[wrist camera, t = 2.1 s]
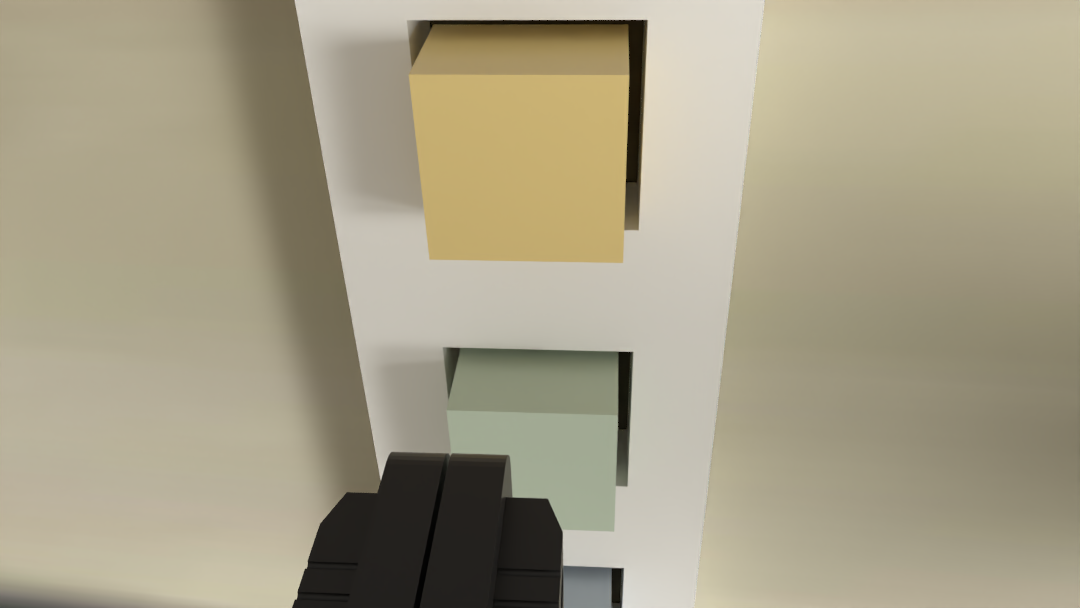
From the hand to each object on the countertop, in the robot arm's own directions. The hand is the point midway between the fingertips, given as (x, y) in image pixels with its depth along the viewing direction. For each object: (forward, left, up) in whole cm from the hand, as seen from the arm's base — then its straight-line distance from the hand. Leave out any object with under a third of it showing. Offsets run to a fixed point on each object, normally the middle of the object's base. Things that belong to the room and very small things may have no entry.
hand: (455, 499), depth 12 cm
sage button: (0, +9, -12) cm, 15 cm away
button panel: (0, +11, -14) cm, 18 cm away
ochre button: (0, 0, -12) cm, 12 cm away
